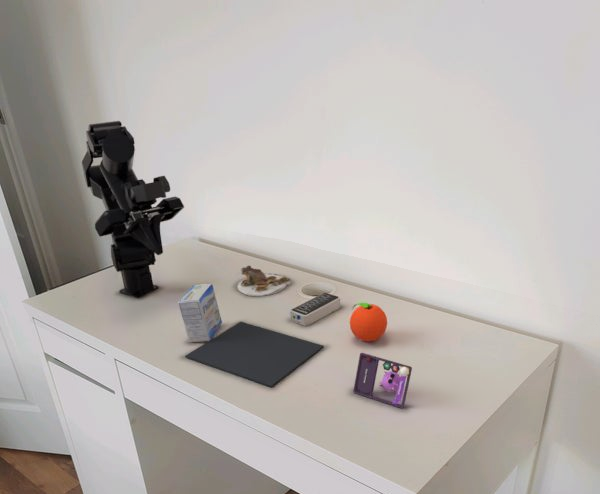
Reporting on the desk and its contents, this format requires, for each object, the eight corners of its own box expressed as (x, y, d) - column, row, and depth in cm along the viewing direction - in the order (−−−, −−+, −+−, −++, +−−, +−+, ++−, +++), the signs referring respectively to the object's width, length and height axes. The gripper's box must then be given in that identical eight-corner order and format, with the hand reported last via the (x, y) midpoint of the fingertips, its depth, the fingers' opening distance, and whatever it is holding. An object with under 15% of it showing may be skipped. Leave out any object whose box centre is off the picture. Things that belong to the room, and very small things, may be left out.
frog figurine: (225, 291, 138) (223, 274, 136) (256, 272, 146) (254, 256, 144) (267, 300, 133) (266, 283, 131) (297, 280, 141) (296, 264, 139)
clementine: (338, 336, 117) (337, 302, 113) (365, 325, 121) (365, 291, 117) (367, 352, 112) (367, 316, 108) (394, 339, 115) (395, 305, 111)
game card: (357, 353, 98) (409, 368, 93) (373, 349, 102) (422, 363, 98) (350, 393, 100) (400, 409, 95) (365, 387, 104) (414, 403, 100)
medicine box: (210, 342, 117) (199, 300, 112) (188, 343, 118) (177, 301, 114) (222, 323, 123) (213, 283, 119) (202, 324, 124) (191, 284, 120)
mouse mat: (185, 357, 113) (185, 355, 113) (240, 323, 124) (240, 321, 124) (271, 387, 103) (271, 385, 103) (323, 347, 114) (323, 345, 114)
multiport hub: (341, 307, 128) (341, 297, 127) (306, 326, 121) (305, 316, 120) (325, 301, 131) (324, 291, 129) (289, 320, 124) (289, 310, 123)
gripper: (101, 168, 111) (142, 246, 112) (179, 156, 124) (215, 226, 125) (77, 198, 119) (115, 271, 120) (153, 184, 132) (187, 250, 133)
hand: (160, 253), depth 124 cm, fingers closed
